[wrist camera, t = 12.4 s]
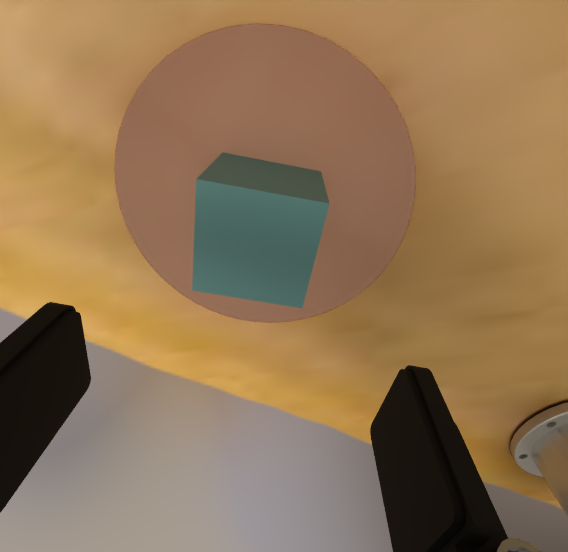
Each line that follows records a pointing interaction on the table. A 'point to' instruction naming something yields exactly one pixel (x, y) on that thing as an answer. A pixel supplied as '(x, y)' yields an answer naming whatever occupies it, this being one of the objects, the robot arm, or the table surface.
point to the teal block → (257, 229)
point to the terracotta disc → (267, 155)
